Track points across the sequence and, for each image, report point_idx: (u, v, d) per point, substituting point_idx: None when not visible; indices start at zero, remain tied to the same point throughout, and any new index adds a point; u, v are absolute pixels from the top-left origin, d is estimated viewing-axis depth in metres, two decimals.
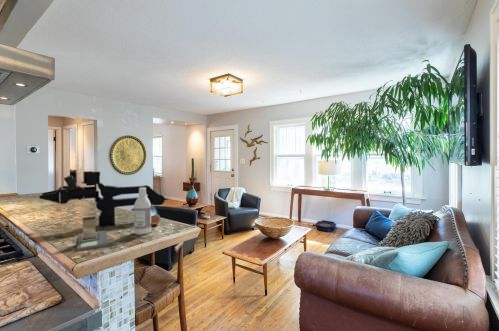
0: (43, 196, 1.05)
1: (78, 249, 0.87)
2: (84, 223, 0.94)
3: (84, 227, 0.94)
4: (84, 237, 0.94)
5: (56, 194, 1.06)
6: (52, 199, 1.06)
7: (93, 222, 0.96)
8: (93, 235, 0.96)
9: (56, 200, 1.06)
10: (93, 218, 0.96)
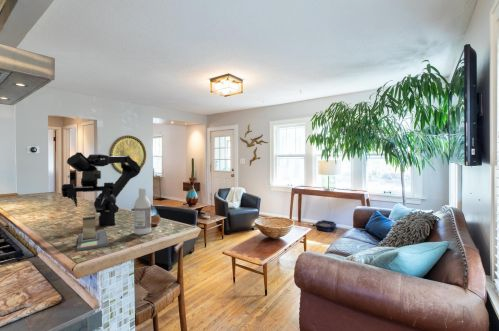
0: (102, 201, 1.04)
1: (78, 249, 0.87)
2: (84, 223, 0.94)
3: (84, 227, 0.94)
4: (84, 237, 0.94)
5: None
6: (104, 197, 1.08)
7: (93, 222, 0.96)
8: (93, 235, 0.96)
9: (105, 195, 1.09)
10: (93, 218, 0.96)
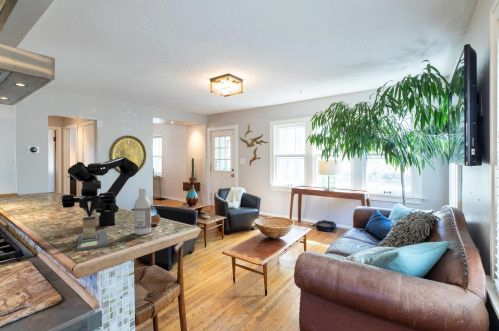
0: (91, 212, 1.02)
1: (78, 249, 0.87)
2: (84, 223, 0.94)
3: (84, 227, 0.94)
4: (84, 237, 0.94)
5: None
6: (94, 208, 1.05)
7: (93, 222, 0.96)
8: (93, 235, 0.96)
9: (95, 206, 1.06)
10: (93, 218, 0.96)
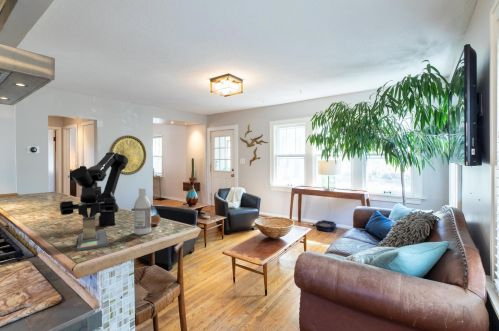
0: None
1: (78, 249, 0.87)
2: (84, 224, 0.94)
3: (84, 227, 0.94)
4: (84, 237, 0.94)
5: None
6: (93, 215, 1.00)
7: (93, 222, 0.95)
8: (93, 235, 0.96)
9: (95, 213, 1.02)
10: (93, 219, 0.95)
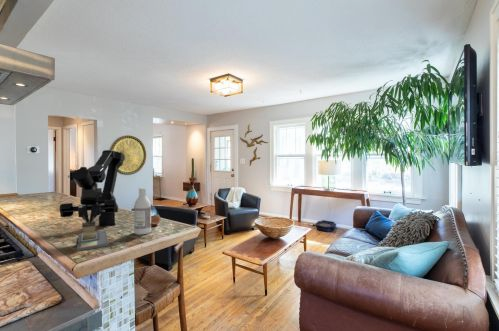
0: None
1: (78, 249, 0.87)
2: (84, 229, 0.92)
3: (84, 232, 0.92)
4: (84, 239, 0.94)
5: None
6: (94, 217, 0.98)
7: (93, 228, 0.93)
8: (93, 237, 0.96)
9: (95, 215, 1.00)
10: (93, 225, 0.92)
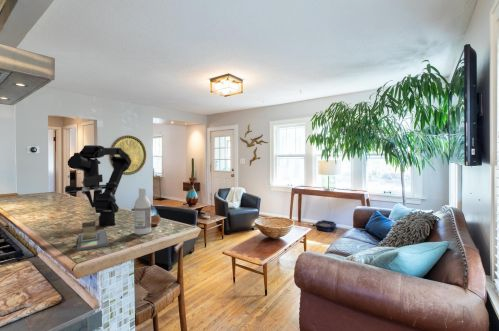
0: (95, 203, 1.07)
1: (78, 249, 0.87)
2: (84, 229, 0.92)
3: (84, 232, 0.92)
4: (84, 239, 0.94)
5: None
6: (97, 197, 1.09)
7: (93, 228, 0.93)
8: (93, 237, 0.96)
9: (98, 194, 1.10)
10: (93, 225, 0.92)
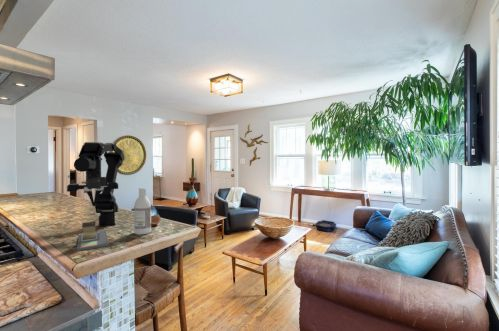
0: None
1: (78, 249, 0.87)
2: (84, 229, 0.92)
3: (84, 232, 0.92)
4: (84, 239, 0.94)
5: None
6: None
7: (93, 228, 0.93)
8: (93, 237, 0.96)
9: None
10: (93, 225, 0.92)
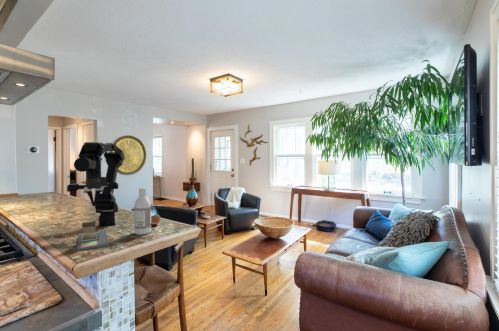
0: None
1: (78, 249, 0.87)
2: (84, 229, 0.92)
3: (84, 232, 0.92)
4: (84, 239, 0.94)
5: None
6: None
7: (93, 228, 0.93)
8: (93, 237, 0.96)
9: None
10: (93, 225, 0.92)
